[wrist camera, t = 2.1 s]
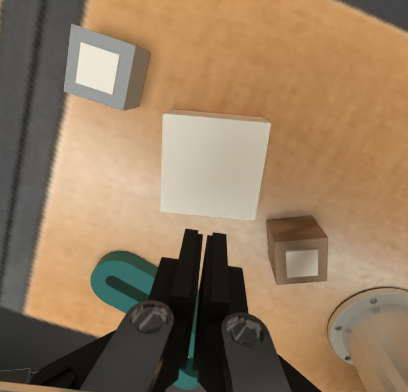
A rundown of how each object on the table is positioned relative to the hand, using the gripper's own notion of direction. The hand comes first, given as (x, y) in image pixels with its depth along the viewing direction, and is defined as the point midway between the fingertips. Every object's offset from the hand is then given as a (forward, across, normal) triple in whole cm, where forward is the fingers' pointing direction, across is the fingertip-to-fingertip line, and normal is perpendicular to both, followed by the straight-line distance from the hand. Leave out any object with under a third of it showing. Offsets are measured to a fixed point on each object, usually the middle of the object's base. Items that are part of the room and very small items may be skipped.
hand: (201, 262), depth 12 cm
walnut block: (+19, -10, +8) cm, 23 cm away
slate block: (+19, +10, -7) cm, 23 cm away
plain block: (+19, 0, 0) cm, 19 cm away
